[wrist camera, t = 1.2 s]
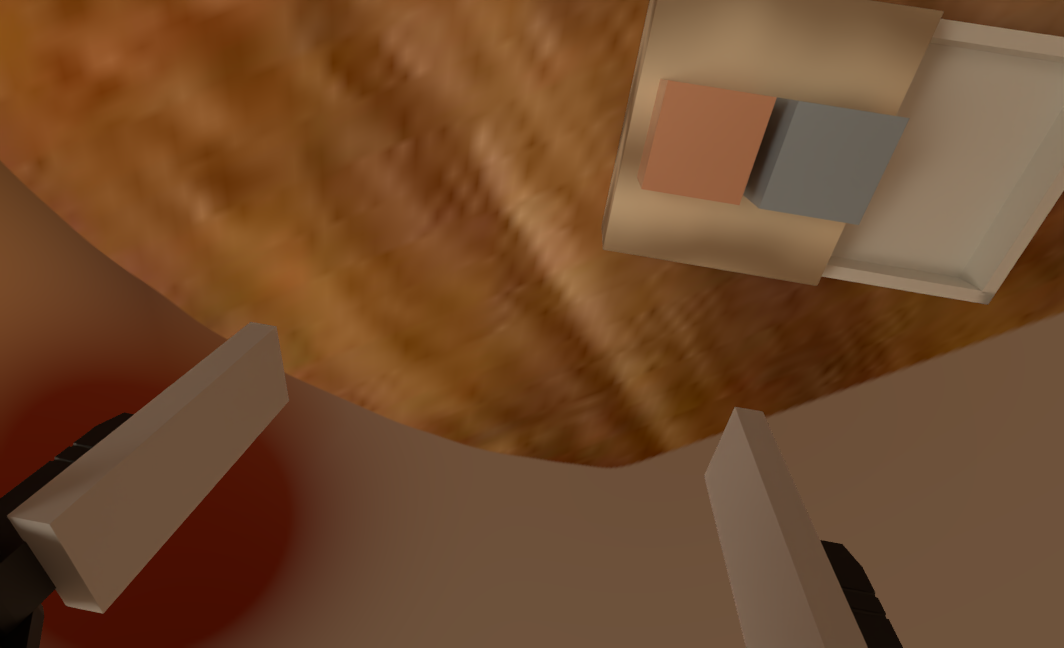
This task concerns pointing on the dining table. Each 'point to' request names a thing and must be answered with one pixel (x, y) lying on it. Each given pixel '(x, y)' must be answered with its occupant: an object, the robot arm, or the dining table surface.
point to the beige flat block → (772, 70)
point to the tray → (965, 167)
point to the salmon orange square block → (703, 141)
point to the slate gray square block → (822, 160)
